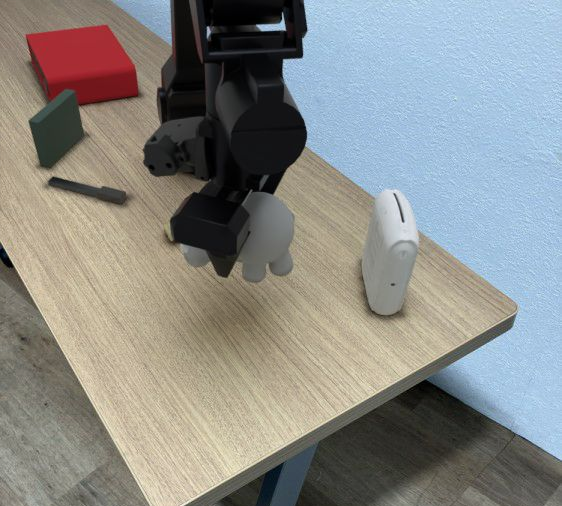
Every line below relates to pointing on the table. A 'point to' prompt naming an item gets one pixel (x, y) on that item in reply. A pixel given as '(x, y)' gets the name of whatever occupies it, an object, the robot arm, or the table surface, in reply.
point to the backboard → (56, 128)
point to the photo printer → (389, 252)
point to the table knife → (90, 190)
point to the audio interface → (83, 64)
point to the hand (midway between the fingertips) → (238, 249)
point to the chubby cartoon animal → (259, 239)
